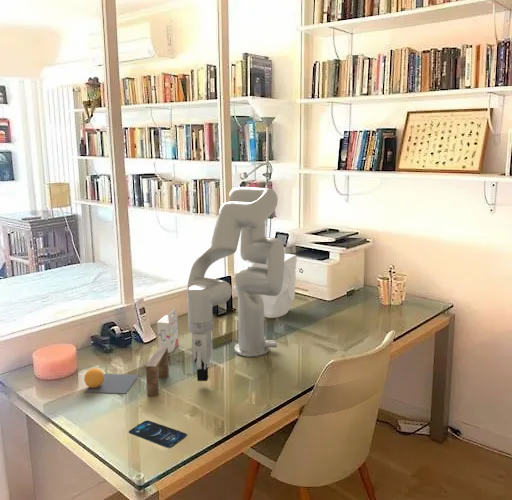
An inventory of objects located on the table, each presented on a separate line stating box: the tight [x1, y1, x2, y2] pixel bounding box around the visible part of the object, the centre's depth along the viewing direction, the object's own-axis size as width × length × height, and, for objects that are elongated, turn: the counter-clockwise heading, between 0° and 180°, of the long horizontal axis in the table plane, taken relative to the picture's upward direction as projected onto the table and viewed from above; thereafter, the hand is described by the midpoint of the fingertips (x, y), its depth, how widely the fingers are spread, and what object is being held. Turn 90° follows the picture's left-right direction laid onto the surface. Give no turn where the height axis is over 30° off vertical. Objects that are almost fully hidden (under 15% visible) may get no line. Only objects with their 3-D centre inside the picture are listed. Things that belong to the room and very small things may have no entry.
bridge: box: [145, 346, 170, 397], centre depth 170 cm, size 3×15×10 cm, turn 176°
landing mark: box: [84, 373, 139, 395], centre depth 172 cm, size 13×13×1 cm
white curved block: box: [232, 253, 297, 319], centre depth 242 cm, size 21×27×26 cm
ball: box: [83, 367, 105, 388], centre depth 170 cm, size 6×6×6 cm
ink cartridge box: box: [156, 307, 179, 354], centre depth 199 cm, size 9×5×15 cm, turn 168°
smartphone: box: [128, 420, 188, 449], centre depth 144 cm, size 8×1×15 cm
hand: (202, 379), depth 170 cm, fingers closed
